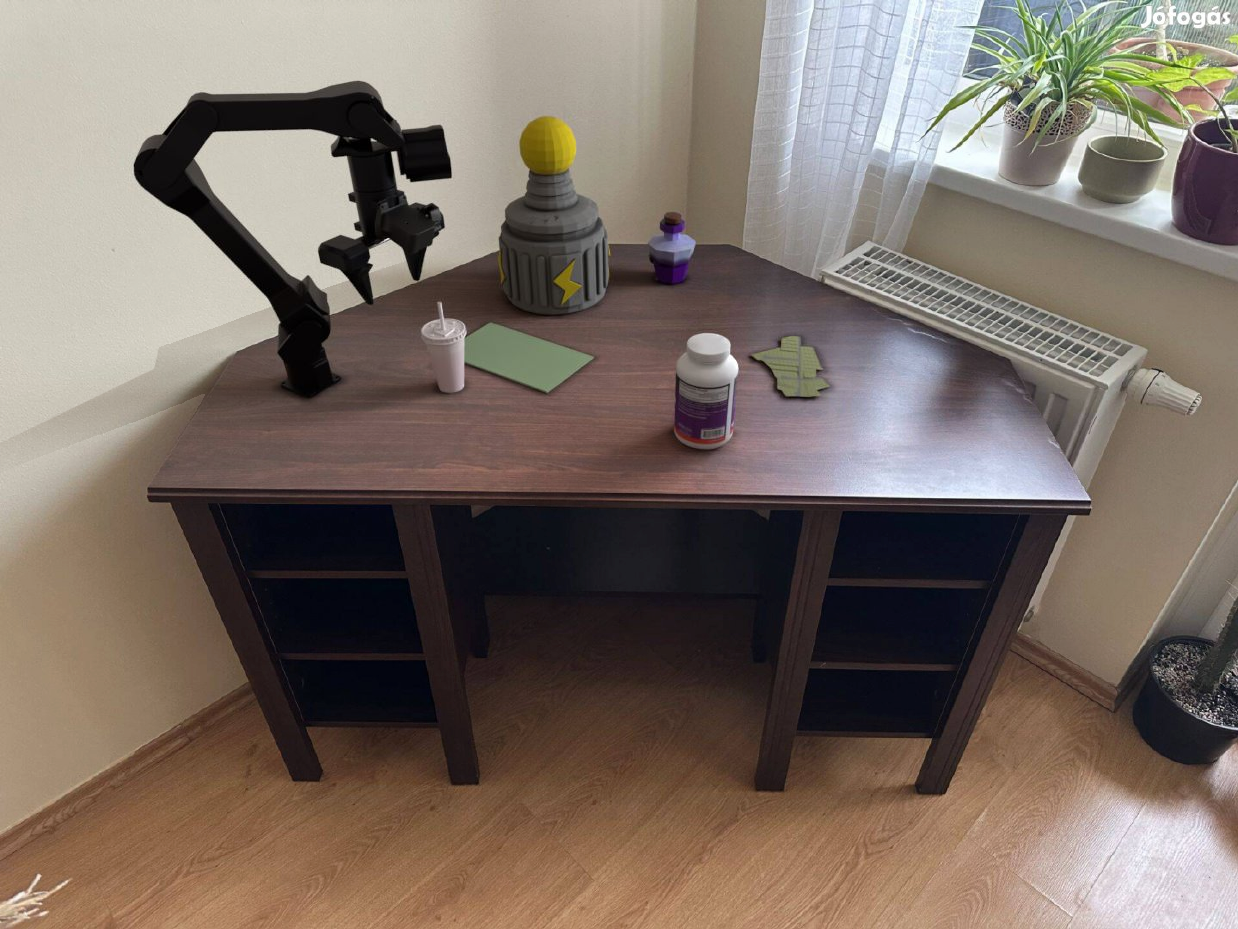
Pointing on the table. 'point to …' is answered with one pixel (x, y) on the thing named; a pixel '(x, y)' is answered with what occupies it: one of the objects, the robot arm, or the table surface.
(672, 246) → the potion bottle
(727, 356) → the pill bottle
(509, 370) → the green cloth
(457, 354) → the smoothie
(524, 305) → the decorative lamp
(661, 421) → the table surface
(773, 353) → the olive flat irregular sheet
